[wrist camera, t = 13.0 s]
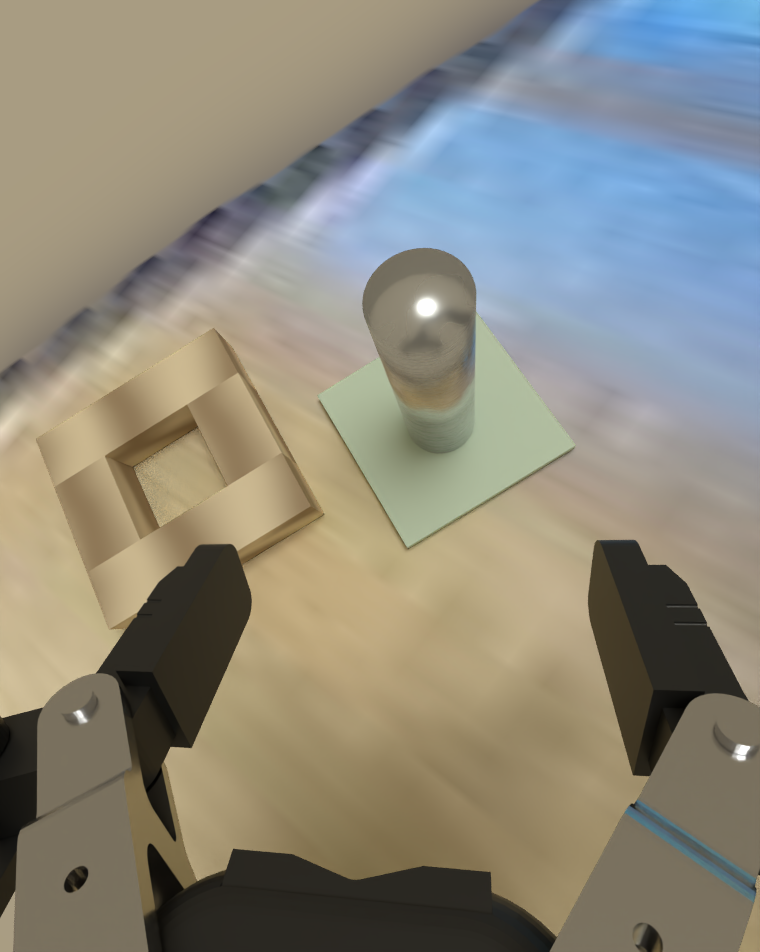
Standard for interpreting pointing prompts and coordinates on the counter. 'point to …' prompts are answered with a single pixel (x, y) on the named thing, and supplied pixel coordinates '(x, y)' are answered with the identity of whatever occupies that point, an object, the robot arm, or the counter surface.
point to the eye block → (149, 430)
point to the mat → (454, 473)
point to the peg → (427, 343)
